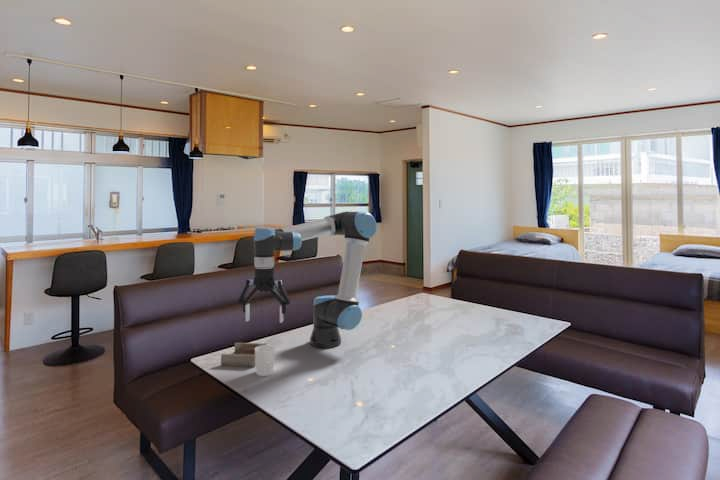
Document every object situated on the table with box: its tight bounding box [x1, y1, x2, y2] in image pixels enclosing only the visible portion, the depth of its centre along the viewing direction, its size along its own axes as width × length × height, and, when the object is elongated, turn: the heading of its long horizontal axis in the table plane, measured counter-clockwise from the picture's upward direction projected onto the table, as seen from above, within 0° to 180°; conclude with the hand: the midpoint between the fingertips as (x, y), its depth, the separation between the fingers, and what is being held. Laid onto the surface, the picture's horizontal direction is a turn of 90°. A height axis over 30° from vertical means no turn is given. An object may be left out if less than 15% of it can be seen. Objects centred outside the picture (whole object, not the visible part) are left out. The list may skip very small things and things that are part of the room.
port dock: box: [220, 342, 267, 368], centre depth 175 cm, size 14×16×4 cm
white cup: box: [255, 344, 276, 377], centre depth 161 cm, size 8×8×10 cm
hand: (264, 321), depth 159 cm, fingers open, 13 cm apart
